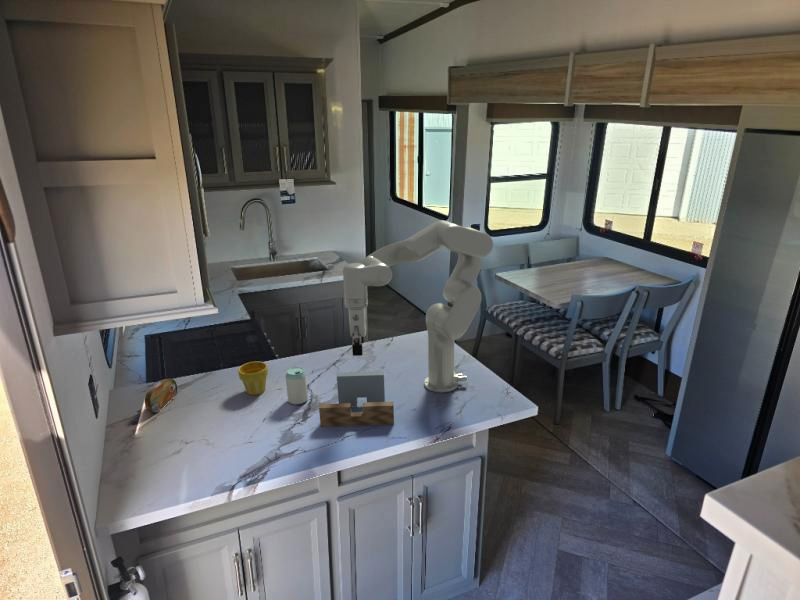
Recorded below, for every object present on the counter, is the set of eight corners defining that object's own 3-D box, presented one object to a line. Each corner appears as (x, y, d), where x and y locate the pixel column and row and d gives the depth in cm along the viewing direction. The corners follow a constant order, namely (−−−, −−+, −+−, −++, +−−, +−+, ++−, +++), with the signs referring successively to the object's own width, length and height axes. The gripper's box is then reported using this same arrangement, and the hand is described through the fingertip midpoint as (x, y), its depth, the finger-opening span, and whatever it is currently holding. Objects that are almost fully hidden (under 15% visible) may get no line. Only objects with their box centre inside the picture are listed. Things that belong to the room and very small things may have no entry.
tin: (153, 417, 179) (149, 395, 176) (145, 416, 180) (140, 394, 177) (179, 395, 193) (175, 374, 190) (172, 394, 193) (168, 374, 191)
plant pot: (236, 396, 191) (232, 372, 187) (250, 383, 200) (247, 359, 197) (261, 399, 188) (258, 375, 185) (274, 385, 198) (272, 362, 194)
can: (311, 396, 189) (308, 367, 185) (303, 406, 183) (299, 376, 179) (293, 394, 191) (290, 365, 187) (284, 404, 185) (281, 374, 181)
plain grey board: (384, 401, 185) (383, 370, 181) (384, 405, 182) (383, 374, 178) (339, 402, 185) (337, 372, 181) (339, 407, 182) (336, 376, 178)
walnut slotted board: (393, 420, 174) (393, 401, 171) (394, 424, 171) (393, 405, 169) (321, 422, 173) (319, 404, 171) (320, 426, 171) (319, 408, 168)
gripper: (366, 310, 162) (368, 360, 168) (368, 292, 179) (370, 338, 184) (342, 310, 162) (345, 360, 168) (346, 292, 179) (348, 338, 184)
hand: (358, 348), depth 176 cm, fingers open, 9 cm apart
